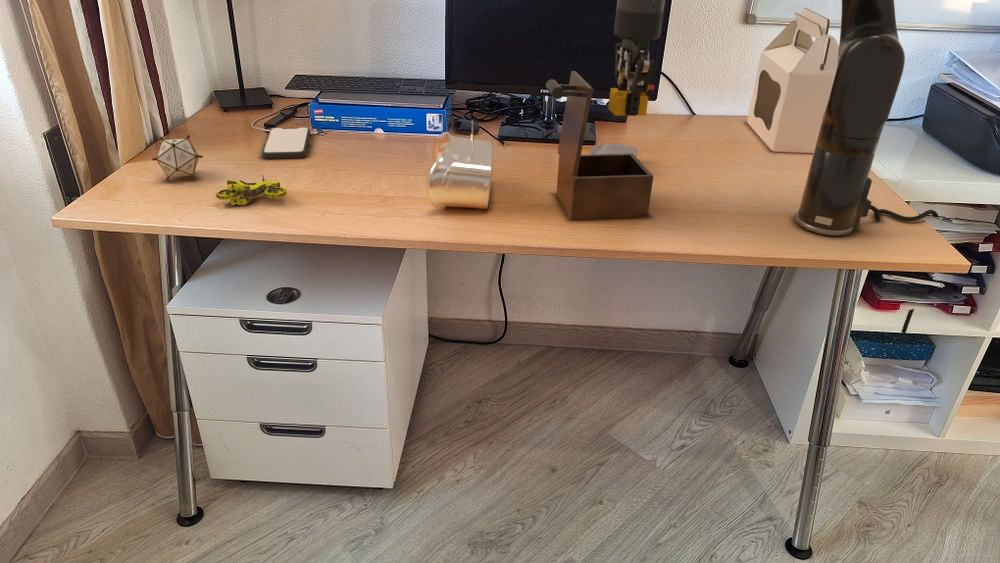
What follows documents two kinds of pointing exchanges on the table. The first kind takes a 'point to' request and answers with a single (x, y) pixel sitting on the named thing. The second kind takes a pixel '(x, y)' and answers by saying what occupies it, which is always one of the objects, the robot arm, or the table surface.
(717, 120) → the table surface
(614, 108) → the toy duck
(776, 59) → the gable box
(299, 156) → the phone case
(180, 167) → the game die
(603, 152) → the stone block
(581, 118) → the chest lid
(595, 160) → the toy chest
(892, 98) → the robot arm
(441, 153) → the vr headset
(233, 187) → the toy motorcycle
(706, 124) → the table surface
